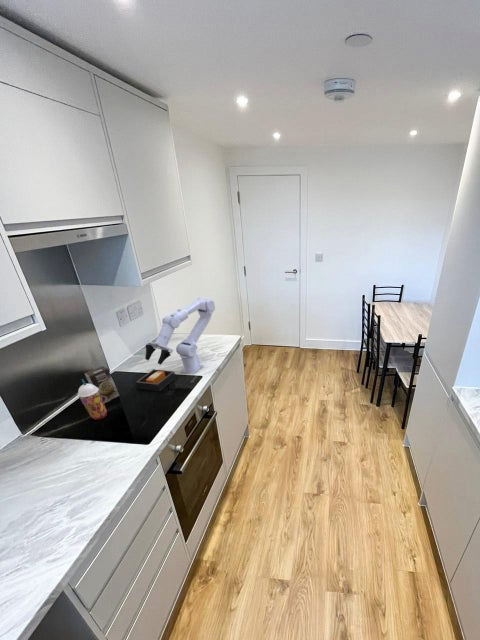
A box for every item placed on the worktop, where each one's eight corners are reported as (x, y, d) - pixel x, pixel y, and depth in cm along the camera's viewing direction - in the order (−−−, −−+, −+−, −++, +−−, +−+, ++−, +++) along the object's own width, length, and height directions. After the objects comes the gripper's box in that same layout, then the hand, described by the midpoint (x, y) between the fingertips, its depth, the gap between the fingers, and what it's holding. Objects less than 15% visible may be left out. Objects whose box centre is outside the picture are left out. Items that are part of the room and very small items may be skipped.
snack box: (160, 377, 180) (157, 370, 177) (166, 378, 179) (164, 371, 176) (148, 386, 172) (145, 379, 169) (155, 387, 171) (152, 380, 168)
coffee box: (102, 404, 160) (89, 376, 151) (96, 401, 164) (83, 372, 155) (120, 396, 166) (108, 368, 157) (114, 392, 170) (102, 365, 161)
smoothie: (86, 420, 150) (66, 382, 139) (100, 410, 156) (83, 373, 145) (99, 423, 147) (80, 385, 136) (113, 412, 154) (97, 375, 143)
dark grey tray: (155, 376, 183) (153, 369, 181) (176, 378, 179) (174, 371, 177) (138, 389, 171) (135, 382, 169) (160, 391, 168) (157, 384, 165)
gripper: (147, 330, 163) (136, 355, 161) (171, 338, 160) (160, 363, 158) (155, 336, 170) (144, 359, 168) (178, 343, 167) (168, 367, 165)
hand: (152, 361), depth 163 cm, fingers open, 7 cm apart
